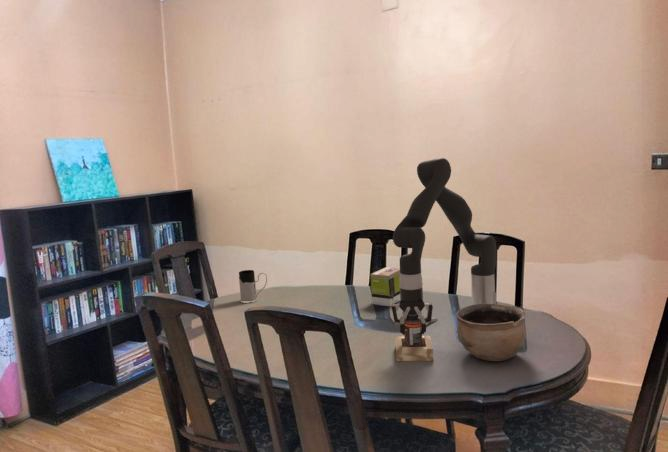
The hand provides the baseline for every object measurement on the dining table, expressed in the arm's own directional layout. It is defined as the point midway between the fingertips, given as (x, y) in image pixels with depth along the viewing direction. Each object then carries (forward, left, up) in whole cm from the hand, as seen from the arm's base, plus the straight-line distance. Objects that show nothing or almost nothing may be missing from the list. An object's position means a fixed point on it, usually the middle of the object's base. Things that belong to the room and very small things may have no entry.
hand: (413, 333), depth 165 cm
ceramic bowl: (-25, +3, -7) cm, 26 cm away
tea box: (+8, -62, -7) cm, 63 cm away
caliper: (-5, -26, -8) cm, 28 cm away
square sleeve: (0, 0, -7) cm, 7 cm away
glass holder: (+75, -70, -7) cm, 103 cm away
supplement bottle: (0, 0, -4) cm, 4 cm away
